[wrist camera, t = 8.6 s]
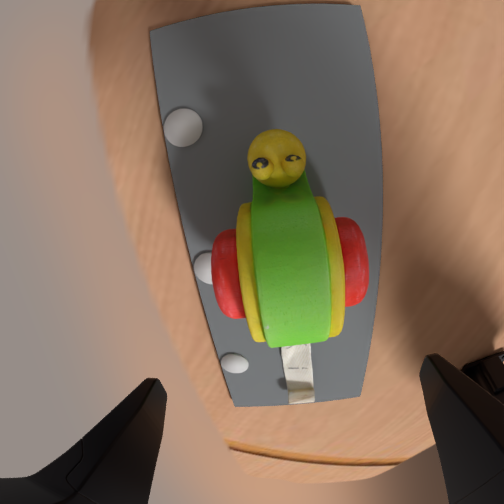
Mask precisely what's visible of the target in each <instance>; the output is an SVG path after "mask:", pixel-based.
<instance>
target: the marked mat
mask: <svg viewBox="0 0 504 504" xmlns="http://www.w3.org/2000/svg"><path fill="white" fill-rule="evenodd" d="M150 40H151V49H152V57H153V65H154V73H155V80H156V87H157V94H158V100H159V107H160V113H161V119H162V125H163V131H164V136H165V142H166V147H167V153H168V158H169V163H170V168H171V173H172V178H173V183H174V188H175V193H176V197H177V202H178V206H179V211H180V215H181V220H182V224H183V228H184V233H185V237H186V241H187V245H188V249H189V253H190V257H191V261H192V265H193V269H194V273H195V277H196V281H197V284H198V288H199V292H200V295H201V299H202V303H203V306H204V310H205V313H206V317H207V320H208V324H209V327H210V331H211V334H212V337H213V341H214V344H215V347H216V351H217V354H218V357H219V360H220V363H221V367H222V370H223V373H224V376H225V379H226V382H227V385H228V388H229V391H230V394H231V397H232V400H233V403H234V406H235V407H251V406H277V405H293V404H289V403H288V389H287V385H286V378H285V374H284V369H283V361H282V356H281V347H275V348H270V347H269V346H268V344H267V342H255V341H254V340H253V338H252V336H251V334H250V331H249V328H248V324H247V320H246V318H239V319H233V318H230V317H227V316H226V315H225V314H223V312H222V311H221V310H220V308H219V306H218V303H217V301H216V297H215V293H214V289H213V284H212V276H211V255H212V247H213V243H214V240H215V238H216V237H217V235H218V234H220V233H221V232H223V231H225V230H228V229H236V225H237V216H238V212H239V208H240V206H241V205H242V204H244V203H249V202H252V200H253V179H252V173H251V171H250V168H249V166H248V160H247V156H248V150H249V147H250V145H251V143H252V141H253V140H254V139H255V138H256V136H257V135H259V134H260V133H262V132H264V131H267V130H271V129H281V130H285V131H288V132H291V133H292V134H294V135H295V136H296V137H297V138H298V139H299V140H300V141H301V143H302V144H303V147H304V149H305V153H306V165H305V173H306V176H307V180H308V183H309V186H310V189H311V192H312V194H313V196H314V197H317V196H321V197H324V198H326V200H327V201H328V202H329V204H330V207H331V209H332V211H333V215H334V218H337V217H348V218H350V219H352V220H354V221H355V222H356V223H357V224H358V225H359V227H360V229H361V231H362V233H363V236H364V239H365V244H366V249H367V254H368V260H369V285H368V289H367V292H366V295H365V297H364V298H363V300H362V301H361V302H360V303H358V304H356V305H354V306H349V307H345V316H344V324H343V328H342V331H341V332H340V334H339V335H338V336H335V337H329V338H328V339H327V340H326V341H323V342H317V343H311V360H312V368H313V382H314V391H315V401H314V402H309V403H315V402H324V401H332V400H339V399H346V398H353V397H359V396H360V395H361V390H362V386H363V381H364V376H365V372H366V367H367V361H368V356H369V350H370V344H371V338H372V332H373V325H374V318H375V311H376V302H377V294H378V284H379V273H380V261H381V245H382V221H383V171H382V147H381V132H380V120H379V109H378V100H377V92H376V84H375V77H374V70H373V64H372V58H371V53H370V47H369V42H368V37H367V32H366V28H365V23H364V19H363V15H362V10H361V7H360V5H345V4H288V5H274V6H263V7H254V8H246V9H239V10H233V11H227V12H222V13H216V14H211V15H207V16H202V17H198V18H194V19H189V20H186V21H182V22H178V23H174V24H171V25H167V26H164V27H161V28H158V29H155V30H152V31H150ZM297 404H305V403H297Z"/></svg>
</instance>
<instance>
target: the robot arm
mask: <svg viewBox="0 0 504 504" xmlns="http://www.w3.org/2000/svg"><path fill="white" fill-rule="evenodd" d="M503 361H504V351H503V352H500V353H498V354H495V355H493V356H490V357H488V358H485V359H482V360H480V361H477V362H474V363H471V364H468V365H466V366H464V367H463V369H462V371H460V370H458V369H457V368H456V367H455V366H453V365H452V364H451V363H449V362H448V361H447V360H445V359H444V358H443V357H441V356H440V355H439V354H436V353H434V354H430V355H427V356H426V357H425V359H424V361H423V364H422V367H421V370H420V381H421V385H422V390H423V395H424V400H425V405H426V410H427V414H428V418H429V421H430V425H431V428H432V432H433V435H434V439H435V442H436V446H437V450H438V453H439V457H440V462H441V466H442V470H443V474H444V479H445V484H446V489H447V494H448V500H449V504H504V364H503ZM166 402H167V393H166V391H165V389H164V388H163V386H162V384H161V382H160V380H159V379H157V378H147V379H145V380H144V381H143V382H142V383H141V384H140V385H139V386H138V387H137V388H136V389H135V390H133V391H132V392H131V393H130V394H129V395H128V396H127V397H126V398H125V399H124V400H123V401H122V402H120V403H119V404H118V405H117V406H116V407H115V408H114V409H113V410H112V411H111V412H110V413H109V414H108V415H106V416H105V417H104V418H103V419H102V420H101V421H100V422H99V423H98V424H97V425H96V426H94V427H93V428H92V429H91V430H90V431H89V432H88V433H87V434H86V435H85V436H84V437H83V438H82V439H80V440H79V441H78V442H77V443H76V444H75V445H73V446H72V447H71V448H70V449H69V450H68V451H66V452H65V453H64V454H62V455H61V456H60V457H58V458H57V459H56V460H54V461H53V462H52V463H50V464H49V465H47V466H46V467H44V468H43V469H42V470H40V471H39V472H37V473H35V474H33V475H31V476H28V477H22V478H0V504H148V499H149V495H150V489H151V485H152V480H153V476H154V470H155V466H156V462H157V457H158V453H159V449H160V444H161V440H162V435H163V428H164V419H165V411H166Z"/></svg>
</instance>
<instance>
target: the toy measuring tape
mask: <svg viewBox="0 0 504 504" xmlns="http://www.w3.org/2000/svg"><path fill="white" fill-rule="evenodd" d="M247 160H248V166H249V168H250V171H251V173H252V179H253V200H252V202H249V203H244V204H242V205H241V206H240V208H239V212H238V216H237V225H236V229H228V230H225V231H223V232H221V233H220V234H218V235H217V237H216V238H215V240H214V243H213V247H212V255H211V276H212V284H213V289H214V293H215V297H216V301H217V303H218V306H219V308H220V310H221V311H222V312H223V314H225V315H226V316H227V317H230V318H233V319H239V318H246V320H247V324H248V328H249V331H250V334H251V336H252V338H253V340H254V341H255V342H267V344H268V346H269V347H270V348H275V347H281V356H282V361H283V369H284V374H285V378H286V385H287V389H288V403H289V404H297V403H309V402H314V401H315V391H314V382H313V368H312V360H311V343H317V342H323V341H326V340H327V339H328V338H329V337H335V336H338V335H339V334H340V332H341V331H342V328H343V324H344V316H345V307H349V306H354V305H356V304H358V303H360V302H361V301H362V300H363V298H364V297H365V295H366V292H367V289H368V285H369V260H368V254H367V249H366V244H365V239H364V236H363V233H362V231H361V229H360V227H359V225H358V224H357V223H356V222H355V221H354V220H352V219H350V218H348V217H337V218H334V215H333V211H332V209H331V207H330V204H329V202H328V201H327V200H326V198H324V197H321V196H317V197H314V196H313V194H312V192H311V189H310V186H309V183H308V180H307V176H306V173H305V165H306V153H305V149H304V147H303V144H302V143H301V141H300V140H299V139H298V138H297V137H296V136H295V135H294V134H292V133H291V132H288V131H285V130H281V129H271V130H267V131H264V132H262V133H260V134H259V135H257V136H256V138H255V139H254V140H253V141H252V143H251V145H250V147H249V150H248V156H247Z"/></svg>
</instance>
